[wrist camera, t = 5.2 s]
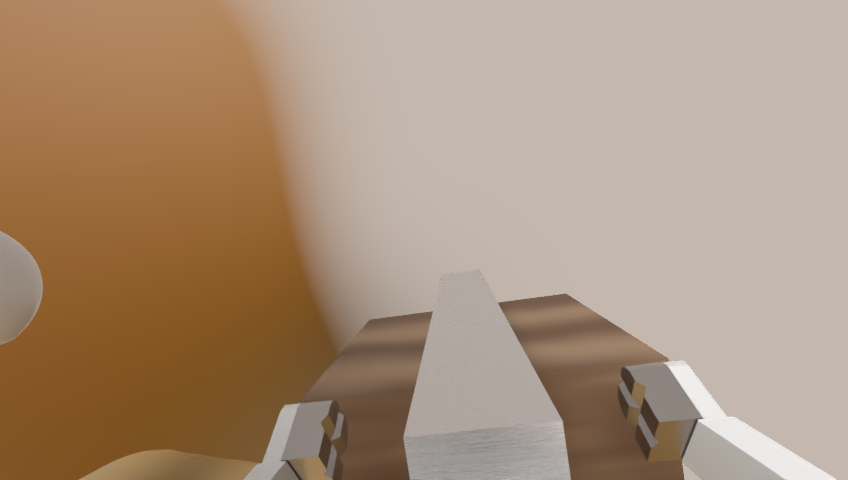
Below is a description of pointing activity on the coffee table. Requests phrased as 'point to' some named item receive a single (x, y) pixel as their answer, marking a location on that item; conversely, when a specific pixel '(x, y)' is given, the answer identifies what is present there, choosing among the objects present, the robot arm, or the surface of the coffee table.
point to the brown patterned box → (552, 361)
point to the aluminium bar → (479, 396)
